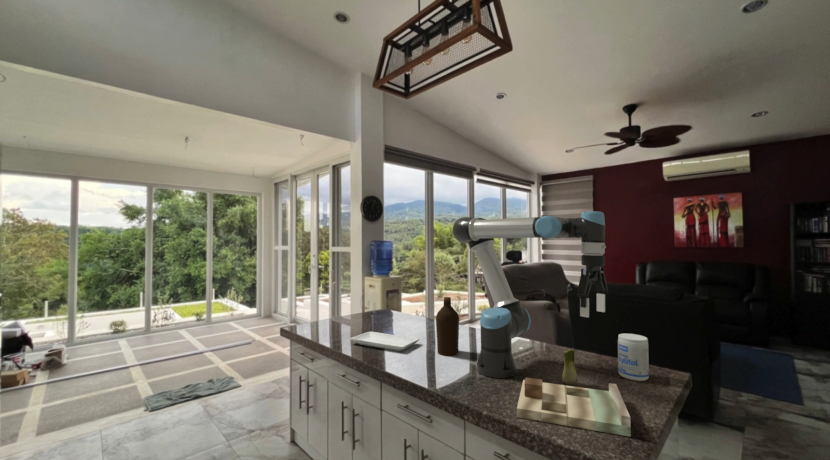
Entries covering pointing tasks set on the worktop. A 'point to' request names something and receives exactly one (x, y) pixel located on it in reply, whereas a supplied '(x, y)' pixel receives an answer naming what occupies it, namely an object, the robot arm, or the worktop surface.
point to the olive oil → (447, 329)
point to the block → (533, 388)
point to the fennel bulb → (569, 369)
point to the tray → (384, 341)
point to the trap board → (578, 408)
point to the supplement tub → (633, 357)
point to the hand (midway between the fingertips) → (593, 314)
